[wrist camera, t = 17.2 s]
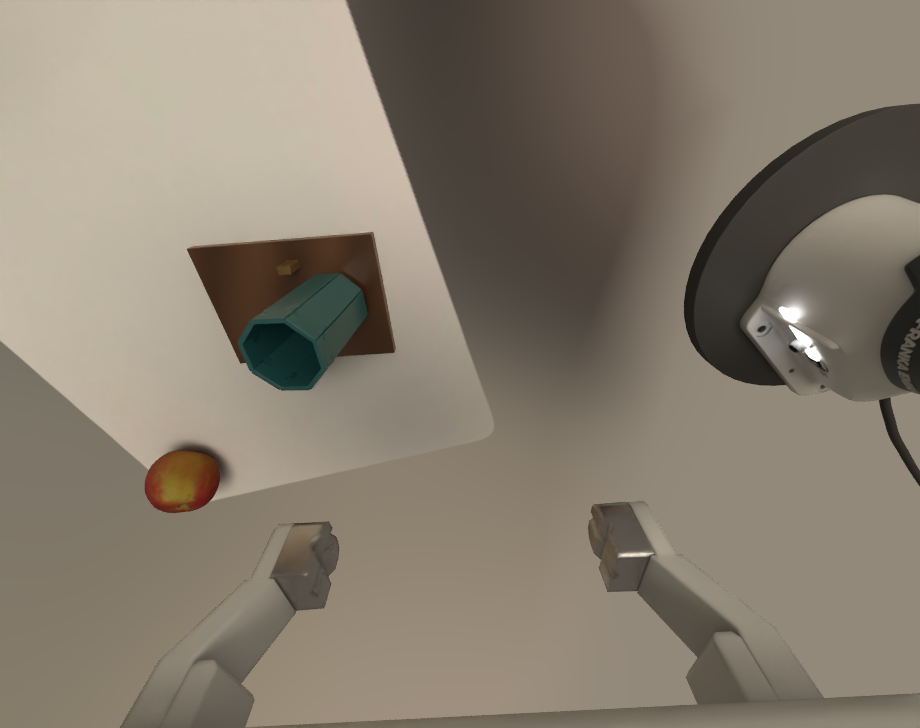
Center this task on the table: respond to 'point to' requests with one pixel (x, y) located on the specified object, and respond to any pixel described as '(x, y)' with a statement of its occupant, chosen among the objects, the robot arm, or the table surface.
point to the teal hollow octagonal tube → (303, 331)
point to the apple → (182, 481)
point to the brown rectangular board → (293, 281)
